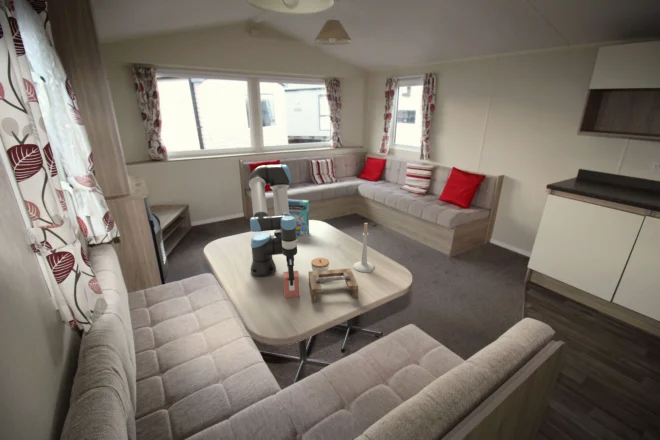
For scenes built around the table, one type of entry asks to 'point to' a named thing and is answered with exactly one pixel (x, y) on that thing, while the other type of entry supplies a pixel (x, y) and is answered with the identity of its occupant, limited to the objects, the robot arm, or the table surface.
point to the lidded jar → (320, 264)
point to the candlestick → (364, 255)
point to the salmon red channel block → (286, 285)
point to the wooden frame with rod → (329, 275)
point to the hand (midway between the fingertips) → (291, 282)
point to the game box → (300, 215)
